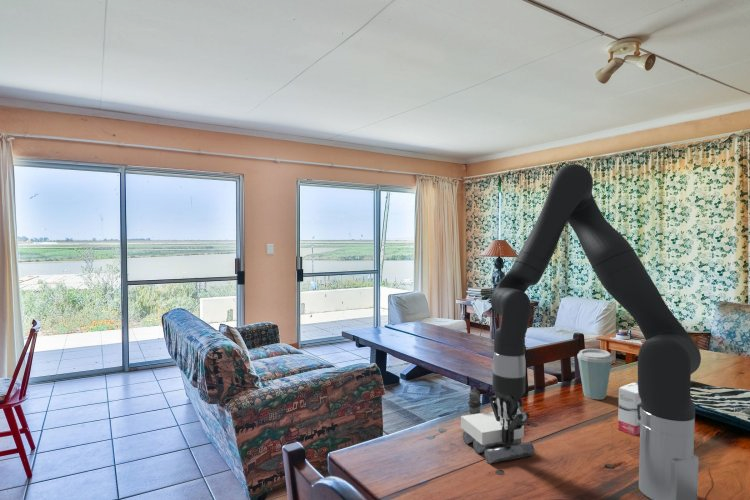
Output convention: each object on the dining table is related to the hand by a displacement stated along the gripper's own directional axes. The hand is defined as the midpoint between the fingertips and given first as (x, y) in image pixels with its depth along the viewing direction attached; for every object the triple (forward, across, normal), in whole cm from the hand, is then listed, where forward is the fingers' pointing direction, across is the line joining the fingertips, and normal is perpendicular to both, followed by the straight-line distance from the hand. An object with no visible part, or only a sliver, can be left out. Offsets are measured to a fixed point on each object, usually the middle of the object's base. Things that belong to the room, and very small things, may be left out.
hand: (507, 443), depth 104 cm
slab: (+1, +7, 0) cm, 7 cm away
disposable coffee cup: (+4, +25, -52) cm, 58 cm away
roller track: (+4, +4, 0) cm, 5 cm away
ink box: (+4, +2, -43) cm, 44 cm away
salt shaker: (+4, +16, -1) cm, 16 cm away
